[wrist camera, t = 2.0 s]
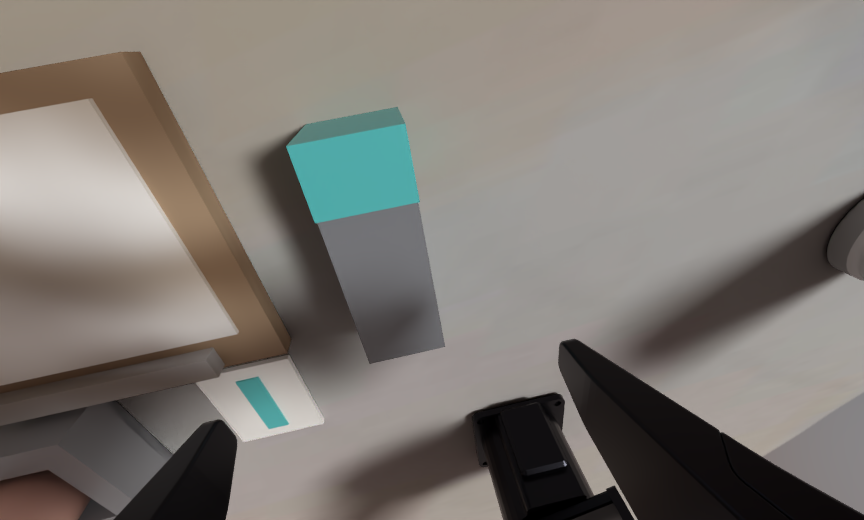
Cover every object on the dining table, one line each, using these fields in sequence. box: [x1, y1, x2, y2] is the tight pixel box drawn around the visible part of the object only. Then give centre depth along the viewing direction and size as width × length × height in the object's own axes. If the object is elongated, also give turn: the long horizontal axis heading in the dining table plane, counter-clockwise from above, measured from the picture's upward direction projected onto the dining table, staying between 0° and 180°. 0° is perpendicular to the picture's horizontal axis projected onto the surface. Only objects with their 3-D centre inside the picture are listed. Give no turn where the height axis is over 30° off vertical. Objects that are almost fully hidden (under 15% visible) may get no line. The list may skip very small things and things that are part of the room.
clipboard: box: [0, 52, 291, 426], centre depth 13 cm, size 13×16×2 cm
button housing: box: [0, 401, 173, 520], centre depth 18 cm, size 8×8×3 cm
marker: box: [286, 107, 445, 364], centre depth 14 cm, size 10×4×4 cm, turn 9°
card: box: [196, 355, 325, 442], centre depth 20 cm, size 6×5×1 cm
